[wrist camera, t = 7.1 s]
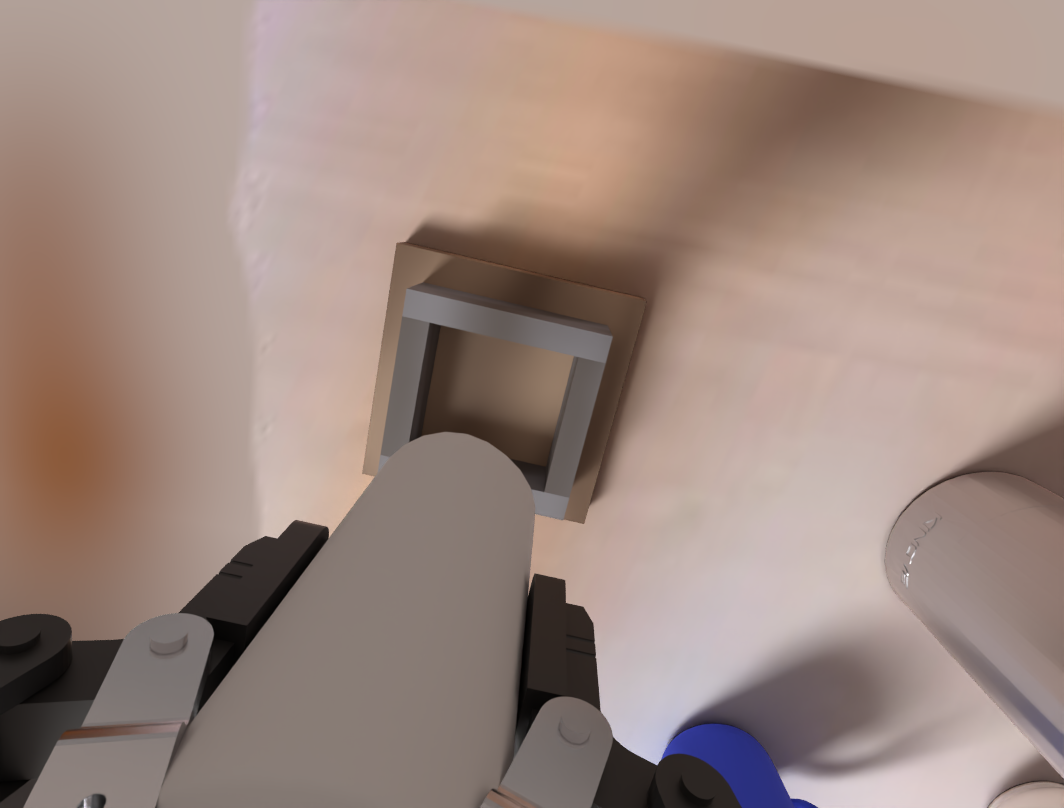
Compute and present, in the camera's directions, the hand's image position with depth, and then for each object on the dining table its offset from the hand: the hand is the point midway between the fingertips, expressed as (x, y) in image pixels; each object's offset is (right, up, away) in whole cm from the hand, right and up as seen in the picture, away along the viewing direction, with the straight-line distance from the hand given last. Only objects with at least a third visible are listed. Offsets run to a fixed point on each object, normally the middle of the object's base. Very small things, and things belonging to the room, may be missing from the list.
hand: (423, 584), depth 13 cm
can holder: (+1, +5, +17) cm, 18 cm away
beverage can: (0, +1, +4) cm, 5 cm away
